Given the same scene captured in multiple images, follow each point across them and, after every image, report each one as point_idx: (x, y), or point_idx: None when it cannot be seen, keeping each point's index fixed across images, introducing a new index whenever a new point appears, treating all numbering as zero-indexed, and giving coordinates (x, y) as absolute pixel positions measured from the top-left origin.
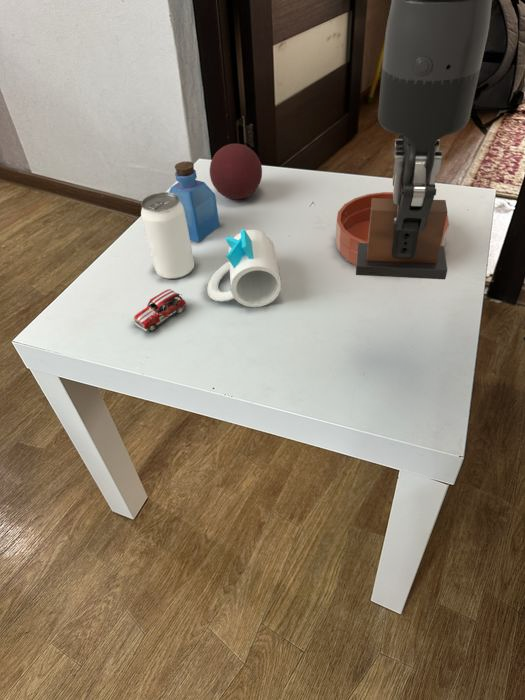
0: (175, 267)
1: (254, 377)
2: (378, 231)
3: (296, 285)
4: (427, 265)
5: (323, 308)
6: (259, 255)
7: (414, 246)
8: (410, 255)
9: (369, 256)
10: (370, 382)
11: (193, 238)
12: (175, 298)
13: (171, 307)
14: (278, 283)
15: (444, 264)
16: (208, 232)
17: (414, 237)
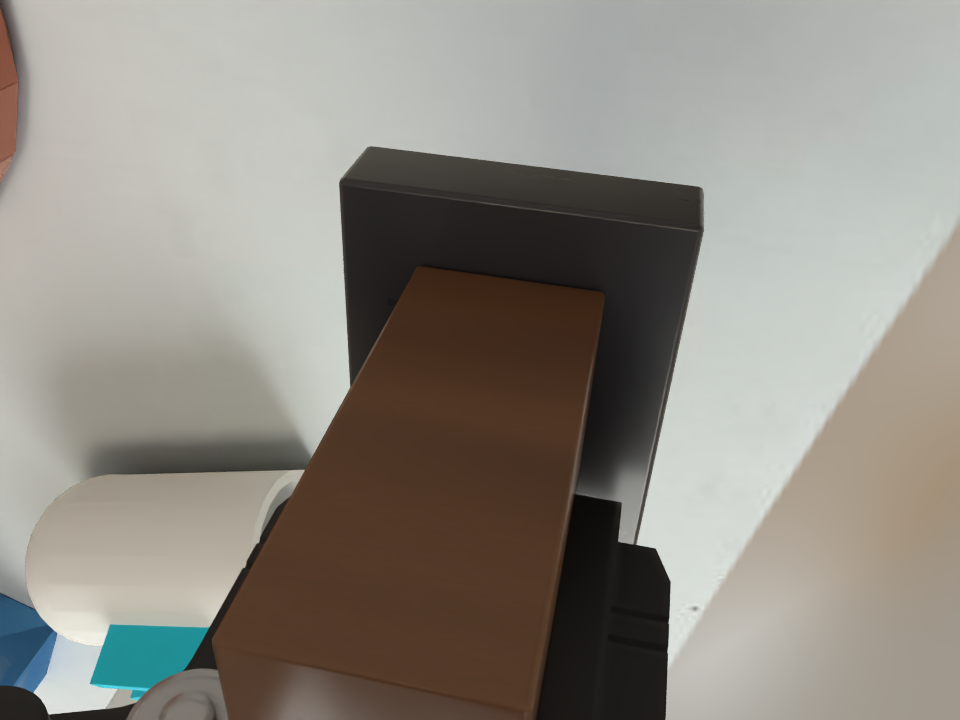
0: None
1: (656, 519)
2: None
3: (189, 384)
4: (627, 357)
5: (298, 308)
6: (188, 608)
7: (613, 583)
8: (662, 568)
9: None
10: (706, 179)
11: (52, 639)
12: None
13: None
14: (268, 505)
15: (616, 233)
16: (5, 605)
17: (605, 665)
